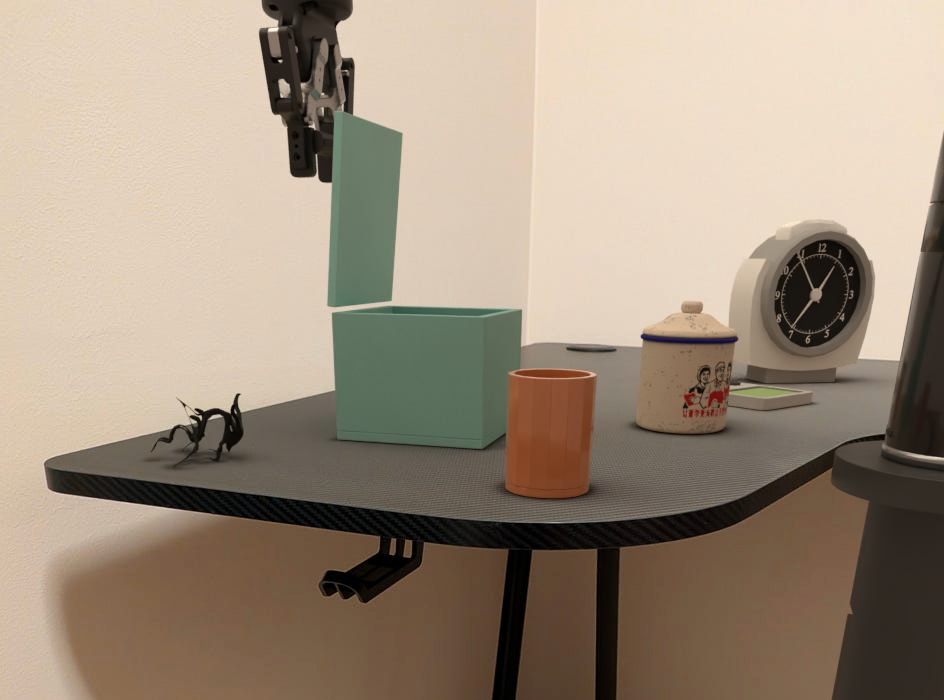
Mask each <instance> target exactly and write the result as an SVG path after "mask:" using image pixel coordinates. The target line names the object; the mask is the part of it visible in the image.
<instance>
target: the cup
mask: <svg viewBox="0 0 944 700" xmlns="http://www.w3.org/2000/svg"><path fill="white" fill-rule="evenodd" d="M597 380H598V374H597V373H594V372H592V371H586V370H580V369H571V368H570V369H569V368H522V369H521V368H520V370H514V371H510V372H508V381H507V417H506V433H505V456H504V479H505V483H504V488H505V489H506V491H508V492H510V493H512V494H515V495H518V496H522V497H523V496H524V497H528V498H536V499H537V498H538V499H566V498H573V497H575V498H576V497H579V496H582V495H585V494H587V493H588V492H589V490H590V482H591V472H592V456H593V455H592V454H593V442H594V441H593V440H594V428H595V427H594V426H595V425H594V424H595V410H596V396H597V395H596V394H597Z"/></svg>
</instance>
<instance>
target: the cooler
mask: <svg viewBox="0 0 944 700" xmlns="http://www.w3.org/2000/svg"><path fill="white" fill-rule="evenodd" d="M331 327H332V351H333V372H334V393H335V394H334V396H335V417H336V418H335V421H336V422H335V423H336V439H337V440H338V441H339V440H340V441H353V442H369V443H381V444H382V443H384V444H398V445H412V446H427V447H440V448H441V447H442V448H456V449H473V450H484V449H485V448H486V447H487V446H489V445H490V444H492V443H493V442H495V441H496V440H498V439H499V438H500V437H502V436H504V435H506V417H507V381H508V372H510V371H514V370H521V359H522V358H521V357H522V330H523V309H522V308H499V307H498V308H497V307H495V308H494V307H493V308H492V307H458V306H457V307H454V306H419V305H418V306H417V305H416V306H415V305H382V306H374V307H367V308H360V309H359V308H358V309H351V310H341V311H333V312H331Z"/></svg>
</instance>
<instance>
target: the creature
mask: <svg viewBox="0 0 944 700" xmlns="http://www.w3.org/2000/svg"><path fill="white" fill-rule="evenodd" d="M241 395H242V393H240V392H238V393H236V394H235V396H234V398H233V401H232V404H231V406H230V410H229V412H228V411H226V410H223V409H221V408H219V407H213V408H210V409H207V410H203V409H201V408H199V407H194V408H193V409H192V408H191V407H190V406H189V405H188V404H186V403H185V402H183V401H182V400H181V399H180V398H178V397H175V398H176V399H177V400H178V401H179V402H180V403H181V405H182V407H183V408H184V410H185V413H186V415H187V418H188V419H189V422H190V425H191V429H192V431H191V430H190V429H189V428H188V427H187V426H186V425H185V424H181V423H179V424H176V425H174V426H172V428H171V430H170V431H169V435H168V437H166V436H161V437H159V438H158V439H157V440H156V441H155V443H154V445H153V447H152V449H151V451H150V453H152V452H153V451H154V450H155V448H156V447H157V445H158V443H159V442H163V443H166V444H171V443H172V442H173V441H174V438H175V437H174V436H175V433H176V431H177V430H178V429H182V430H184V431H185V433H186V435H187V437H188V439H189V441H190V442H189V443H188V444H187V445H186V446H185V447H184V448H182V449H181V452H185V449H186V448H187V447H189V446H190V445H191V444H192V443H193V444H194V445H193V448H192V450H186V452H190V453H189V454H187V456H185V457H184V458H183V459H182V460H179V462H177V463H175V464H173V465H172V467H173V468H174V467H176V466H178V465H179V464H182V463H185V462H189V461H195V459H194V458H190V457H192V456H193V455H197V454H199V453H200V451H199V447H200V442H202V439H203V438H204V437H206V434H205V431H206V427H207V424H208V421H209V419H210V418H211V417H213V416H218V415H220V416H221V417H222V418H223V420H224V428H223V429H224V430H223V434H222V438H221V440H220V442H219V443H218V447H217V448H216V449H213V448H208V449H206V450H202V451H201V453H202V452H204V451H205V452H206V451H213V452H214V453H215V458H212V457H205V458H201V461H203V460H208V459H209V460H211V461H212V462H219V461H220V460H221V454H222V453H223V449H224V445H225V448H226V450H227V452H228V453H230V452H231V450H232V448H233V447H234V446H236V445H238V443H240V442H241V440H242V439H243V437H244V430H245V429H244V425H243V420H242V419H243V418H242V412H241V409H240V406H239V398H240V396H241ZM186 407H187V408H188V409H190V411H192V412H193V414H190V415H189V414H188V412H187V409H186ZM199 416H201V417H199ZM191 420H192V421H195V422H196V424H197V425H196V426H195V425H193V423H192V421H191ZM189 458H190V459H189Z"/></svg>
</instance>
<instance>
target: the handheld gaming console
mask: <svg viewBox="0 0 944 700" xmlns="http://www.w3.org/2000/svg"><path fill="white" fill-rule="evenodd" d="M813 394H814V392H813V390H812V391H811V390H806V389H796V388H788V387H781V386H771V385H764V384H757V383H756V384H755V383H748V382H740V381H738V379H731V381H730V389H729V397H728V406H729V407H736V408H744V409H749V410H756V411H757V410H758V411H770V410H771V411H772V410H777V409H783V408H789V407H790V408H791V407H796V406H802V405H809V404H812V400H813Z"/></svg>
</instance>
